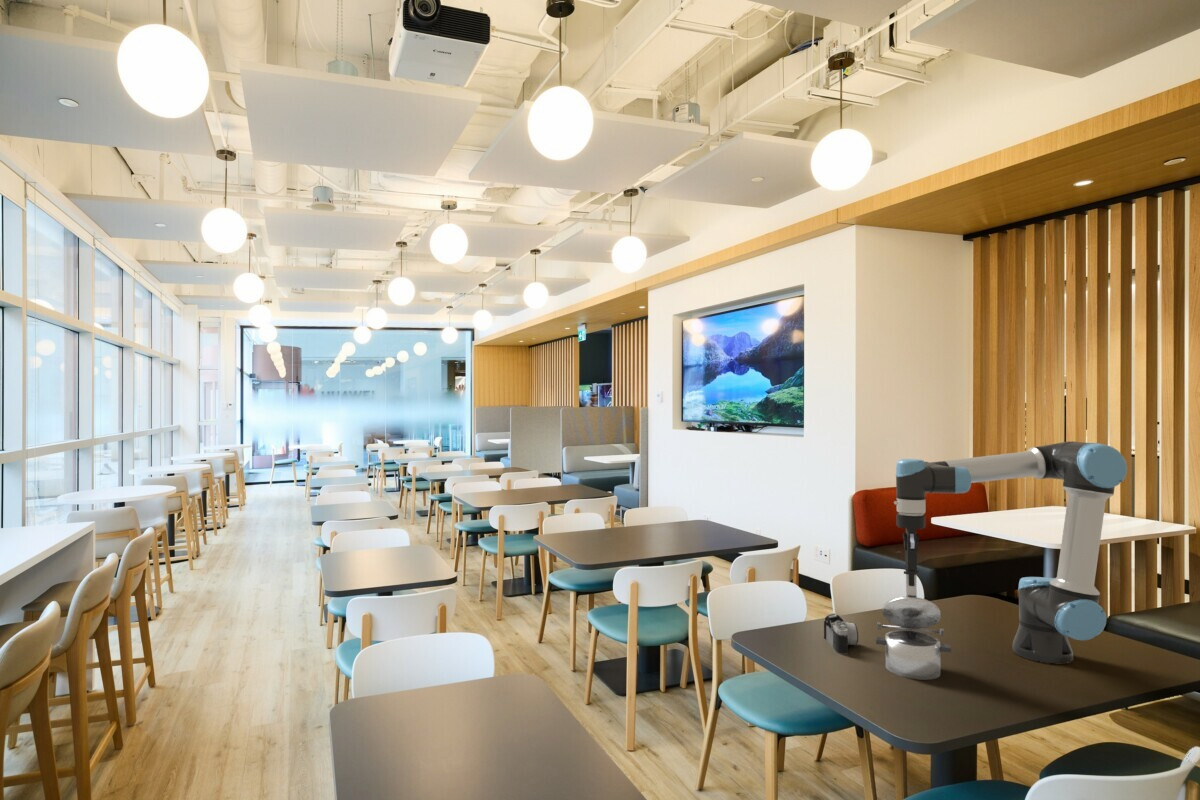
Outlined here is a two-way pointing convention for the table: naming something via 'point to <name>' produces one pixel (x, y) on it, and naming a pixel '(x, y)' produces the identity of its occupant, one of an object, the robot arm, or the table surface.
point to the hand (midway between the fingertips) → (911, 596)
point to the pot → (912, 653)
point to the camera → (840, 633)
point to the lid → (911, 614)
